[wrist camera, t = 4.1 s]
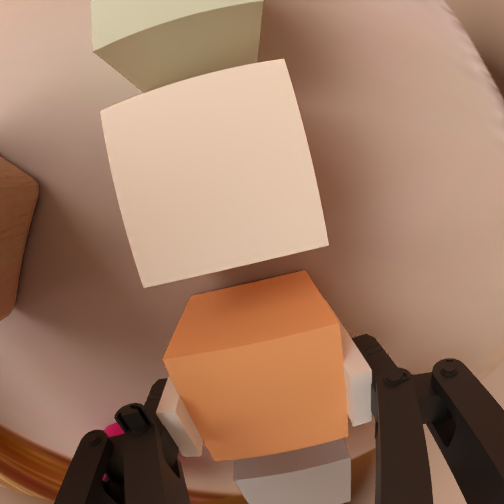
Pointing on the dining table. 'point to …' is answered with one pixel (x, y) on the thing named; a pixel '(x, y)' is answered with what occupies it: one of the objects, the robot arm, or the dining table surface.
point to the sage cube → (175, 37)
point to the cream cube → (214, 173)
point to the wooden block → (13, 228)
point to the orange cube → (260, 368)
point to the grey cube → (297, 476)
